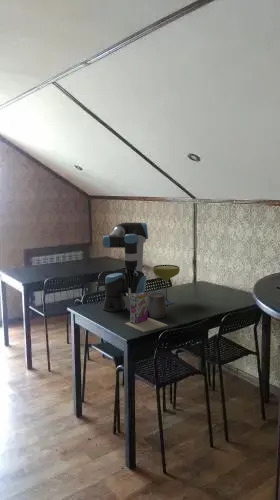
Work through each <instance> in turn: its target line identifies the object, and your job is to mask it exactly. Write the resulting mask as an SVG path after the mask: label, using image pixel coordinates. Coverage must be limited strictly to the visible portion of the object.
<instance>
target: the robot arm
mask: <svg viewBox="0 0 280 500" xmlns="http://www.w3.org/2000/svg"><path fill="white" fill-rule="evenodd" d="M148 239H149V233H148V225H147V223H146V222H121V223H118V224H116V225H115V226H114V227H112V228H111V231H110V234H109V235H103V236H102V247H103V248H106V249H110V248H111V249H114V248H115V249H116V248H117V249H118V248H119V249H124V267H125V269H123V272H116V273H110V274H107V275H106V276H105V281H104V287H105V290H104V291H105V292H104V293H105V298H104V302H103V305H102V310H104V311H106V312H111V313H112V312H114V313H115V312H116V313H117V312H123V311H125V310H126V309H127V305H126V301H125V299H124V298H125V297H124V294H126V295H127V294H128V299H129V300H130V296H131V295H135V294H139V293H145V291H146V287H147V286H146V285H147V276H146V275H145V273H144V271H143V264H144V263H143V259H144V244H145V243H146V241H147V240H148ZM123 273H124V274H123Z"/></svg>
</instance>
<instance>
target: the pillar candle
mask: <svg viewBox="0 0 280 500" xmlns="http://www.w3.org/2000/svg"><path fill="white" fill-rule="evenodd" d="M165 298H166V294H165V293H160V292H153V293H150V294H148V313H149V318H151V319H162V318H164V317H166V305H165Z"/></svg>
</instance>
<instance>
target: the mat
mask: <svg viewBox="0 0 280 500" xmlns="http://www.w3.org/2000/svg"><path fill="white" fill-rule="evenodd" d="M124 325H126V326H128V327H130V328H133V329H135V330H137V331H139V332H141V331H142V332H141V333H146V332H150V331H154V330H158V329H161V328H166V327H168V326H169V325H168V324H167V323H164V322H162V321H158V320H156V319H155V318H152V317H148V320H145V321H142V322H139V323H137V324H134V323H131V322H130V321H128V322H124ZM157 328H158V329H157Z"/></svg>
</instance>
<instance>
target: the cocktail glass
mask: <svg viewBox="0 0 280 500" xmlns="http://www.w3.org/2000/svg"><path fill="white" fill-rule="evenodd" d="M152 272H153V274H155V275H156V276H157V277H159V278H161V279H163V281H164V282H165V306H166V305H167V306H168V305H172V304H174V303H175V301H173V300H170V299H168V293H167V290H168V288H167V287H168V285H167V284H168V283H167V282H169V280H170V279H172V278H174V277H176V276H177V275H178V274H179V273H180V266H179V265H176V264H175V265H173V264H159V265H157V264H156V265H154V266H153V268H152Z"/></svg>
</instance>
